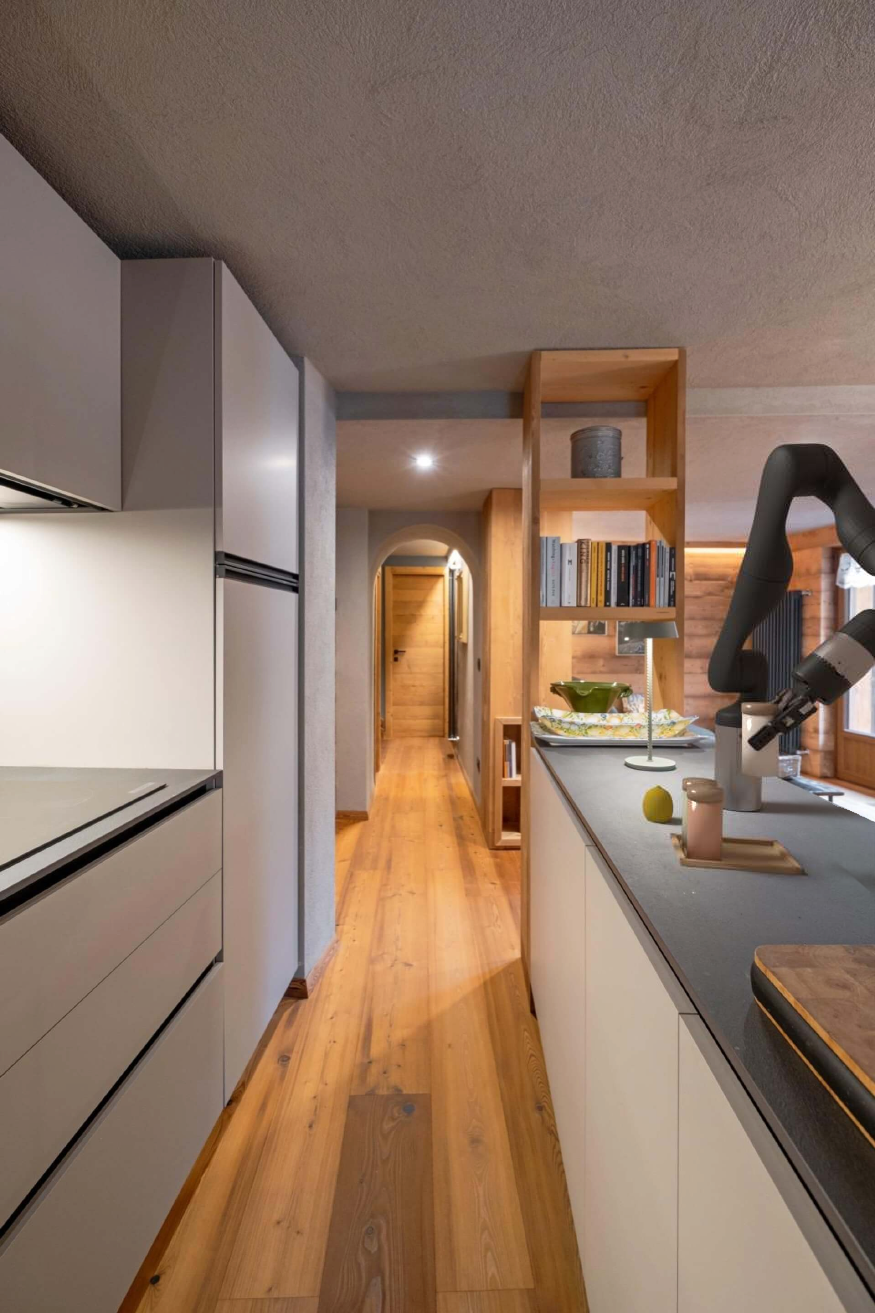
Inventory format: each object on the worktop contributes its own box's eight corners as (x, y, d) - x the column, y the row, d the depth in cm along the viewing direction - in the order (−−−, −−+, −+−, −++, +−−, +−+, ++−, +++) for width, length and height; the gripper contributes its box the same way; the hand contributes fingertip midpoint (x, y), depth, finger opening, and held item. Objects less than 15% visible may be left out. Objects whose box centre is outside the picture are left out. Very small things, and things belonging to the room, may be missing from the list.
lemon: (675, 832, 124) (675, 789, 124) (643, 831, 125) (644, 788, 125) (670, 824, 130) (671, 783, 129) (640, 822, 131) (641, 781, 130)
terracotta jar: (683, 851, 109) (684, 784, 109) (719, 853, 108) (720, 785, 108) (688, 862, 104) (689, 791, 103) (725, 865, 103) (727, 793, 102)
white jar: (737, 769, 109) (737, 701, 109) (773, 770, 108) (774, 702, 108) (745, 776, 104) (746, 705, 104) (783, 777, 103) (784, 705, 103)
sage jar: (679, 840, 115) (680, 776, 114) (712, 843, 113) (714, 778, 113) (683, 851, 109) (684, 783, 109) (719, 853, 108) (720, 785, 108)
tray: (669, 846, 116) (670, 833, 116) (776, 853, 113) (777, 840, 113) (680, 875, 103) (680, 860, 103) (802, 884, 99) (803, 869, 99)
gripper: (799, 650, 111) (720, 721, 114) (830, 652, 97) (739, 733, 100) (834, 683, 110) (753, 753, 113) (870, 689, 96) (778, 770, 99)
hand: (747, 743), depth 106 cm, fingers closed on white jar, 5 cm apart
